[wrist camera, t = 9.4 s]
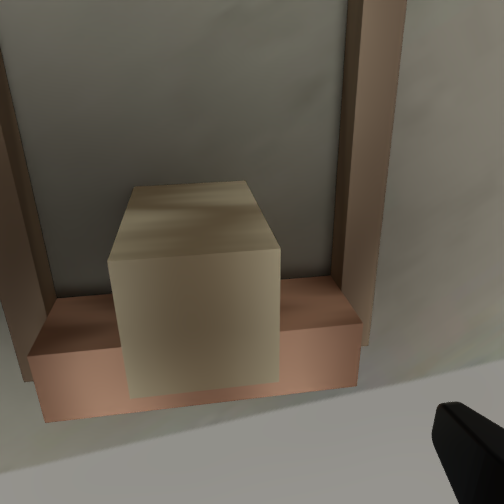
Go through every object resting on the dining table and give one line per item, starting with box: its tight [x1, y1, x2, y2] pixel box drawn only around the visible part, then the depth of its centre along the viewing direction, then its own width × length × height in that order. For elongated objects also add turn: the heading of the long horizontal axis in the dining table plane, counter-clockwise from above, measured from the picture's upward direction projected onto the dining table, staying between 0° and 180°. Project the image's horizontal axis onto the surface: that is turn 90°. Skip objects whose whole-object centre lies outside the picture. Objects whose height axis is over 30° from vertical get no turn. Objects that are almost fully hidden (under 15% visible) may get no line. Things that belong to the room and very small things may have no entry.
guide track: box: [0, 0, 407, 423], centre depth 15 cm, size 15×18×4 cm
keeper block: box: [107, 181, 281, 399], centre depth 15 cm, size 4×4×7 cm
